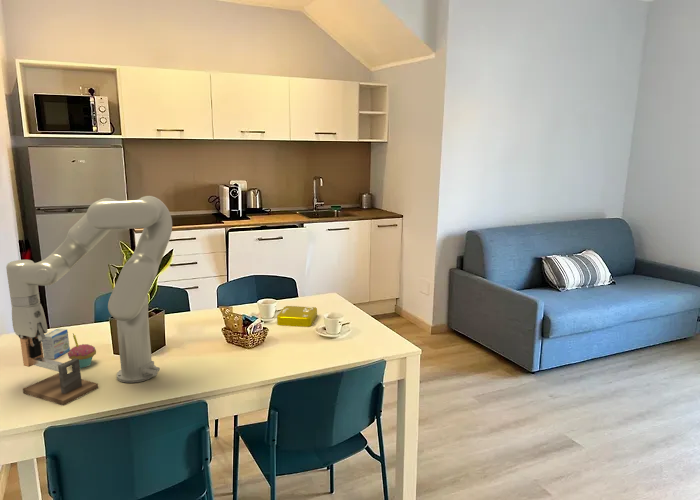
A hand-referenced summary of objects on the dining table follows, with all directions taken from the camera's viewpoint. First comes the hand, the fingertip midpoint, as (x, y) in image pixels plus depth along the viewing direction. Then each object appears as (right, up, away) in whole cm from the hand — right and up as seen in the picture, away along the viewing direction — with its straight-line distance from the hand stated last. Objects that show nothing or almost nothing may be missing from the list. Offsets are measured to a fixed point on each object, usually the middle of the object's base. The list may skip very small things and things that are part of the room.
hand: (32, 355), depth 162 cm
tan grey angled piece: (+5, -3, -2) cm, 7 cm away
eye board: (+10, -10, -2) cm, 15 cm away
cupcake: (+8, -7, +16) cm, 19 cm away
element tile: (+78, +2, +61) cm, 98 cm away
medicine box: (-6, -5, +24) cm, 25 cm away
